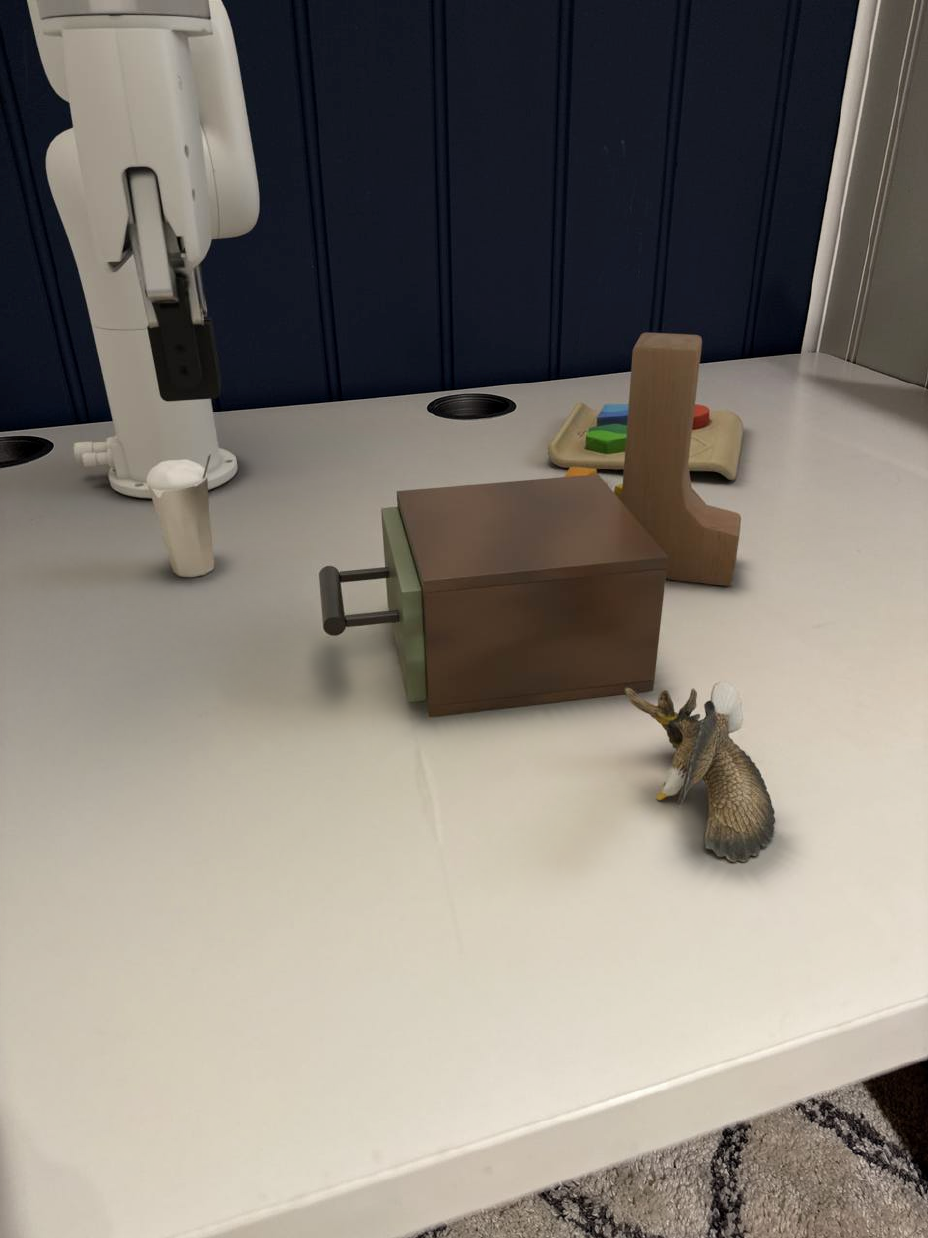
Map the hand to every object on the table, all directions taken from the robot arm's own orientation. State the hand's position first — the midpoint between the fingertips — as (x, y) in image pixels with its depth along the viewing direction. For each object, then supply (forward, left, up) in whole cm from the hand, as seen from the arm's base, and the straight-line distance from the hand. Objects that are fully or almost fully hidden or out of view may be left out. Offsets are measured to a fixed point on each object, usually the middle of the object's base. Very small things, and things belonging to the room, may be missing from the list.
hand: (192, 395), depth 50 cm
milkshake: (-4, +17, -19) cm, 26 cm away
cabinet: (+19, 0, -19) cm, 27 cm away
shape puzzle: (+40, +33, -19) cm, 55 cm away
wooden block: (+34, +9, -19) cm, 40 cm away
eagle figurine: (+25, -17, -19) cm, 36 cm away
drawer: (+15, 0, -18) cm, 24 cm away
